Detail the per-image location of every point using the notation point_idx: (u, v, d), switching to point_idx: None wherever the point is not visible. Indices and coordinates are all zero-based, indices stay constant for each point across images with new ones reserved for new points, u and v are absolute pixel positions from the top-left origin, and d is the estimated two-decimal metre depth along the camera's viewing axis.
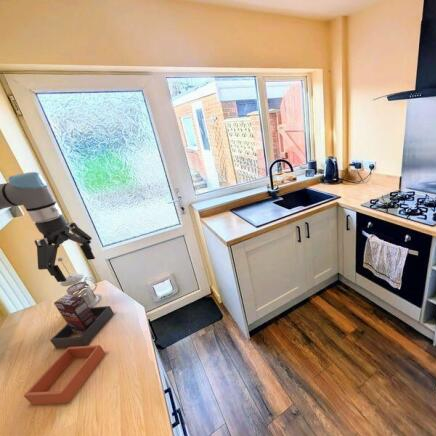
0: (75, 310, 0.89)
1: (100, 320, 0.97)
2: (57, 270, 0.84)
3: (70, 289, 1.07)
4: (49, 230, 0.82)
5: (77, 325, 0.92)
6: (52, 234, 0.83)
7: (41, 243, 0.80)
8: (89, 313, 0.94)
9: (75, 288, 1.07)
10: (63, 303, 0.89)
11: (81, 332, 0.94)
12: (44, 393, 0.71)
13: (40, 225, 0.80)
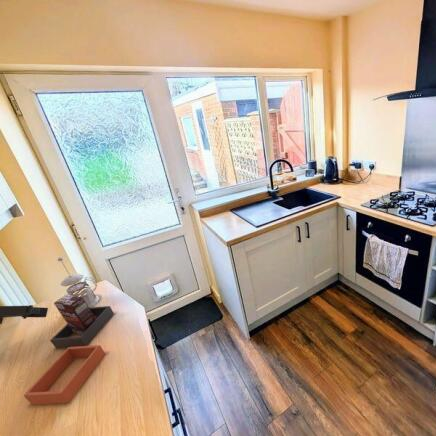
0: (75, 310, 0.89)
1: (100, 320, 0.97)
2: None
3: (70, 289, 1.07)
4: None
5: (77, 325, 0.92)
6: None
7: None
8: (89, 313, 0.94)
9: (75, 288, 1.07)
10: (63, 303, 0.89)
11: (81, 332, 0.94)
12: (44, 393, 0.71)
13: None
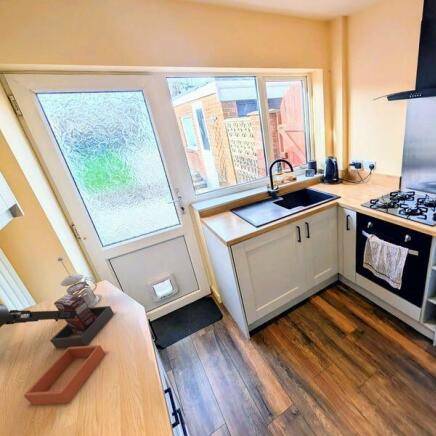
0: None
1: (100, 320, 0.97)
2: None
3: (70, 289, 1.07)
4: None
5: (77, 325, 0.92)
6: None
7: None
8: (89, 313, 0.94)
9: (75, 288, 1.07)
10: (63, 303, 0.89)
11: (81, 332, 0.94)
12: (44, 393, 0.71)
13: None
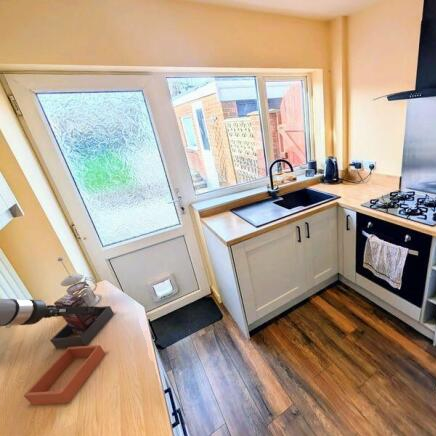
0: None
1: (100, 320, 0.97)
2: None
3: (70, 289, 1.07)
4: None
5: (77, 325, 0.92)
6: None
7: None
8: None
9: (75, 288, 1.07)
10: (63, 303, 0.89)
11: (81, 332, 0.94)
12: (44, 393, 0.71)
13: None
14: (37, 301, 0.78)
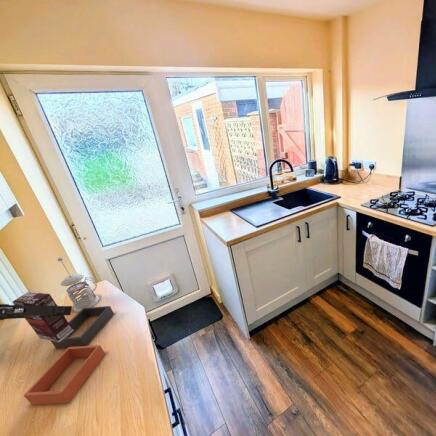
0: None
1: (100, 320, 0.97)
2: None
3: (70, 289, 1.07)
4: None
5: (43, 329, 0.74)
6: None
7: None
8: None
9: (75, 288, 1.07)
10: (24, 302, 0.71)
11: (49, 338, 0.76)
12: (44, 393, 0.71)
13: None
14: None
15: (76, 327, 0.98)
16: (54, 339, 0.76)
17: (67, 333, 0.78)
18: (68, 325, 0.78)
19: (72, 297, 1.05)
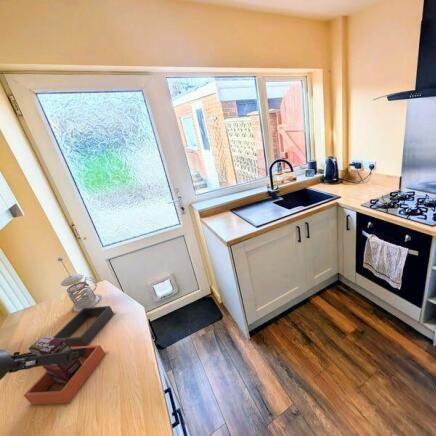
0: None
1: (100, 320, 0.97)
2: None
3: (70, 289, 1.07)
4: None
5: (58, 374, 0.75)
6: None
7: None
8: None
9: (75, 288, 1.07)
10: (40, 349, 0.71)
11: (64, 381, 0.77)
12: (44, 393, 0.71)
13: None
14: None
15: (76, 327, 0.98)
16: None
17: None
18: None
19: (72, 297, 1.05)
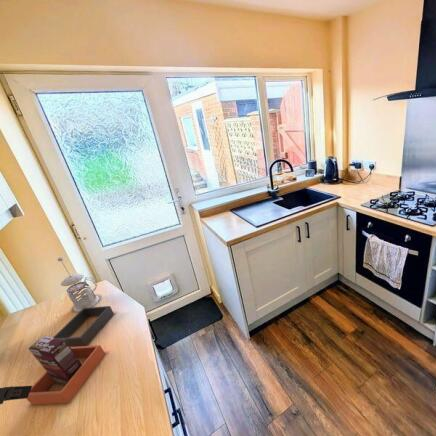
0: (54, 358, 0.71)
1: (100, 320, 0.97)
2: None
3: (70, 289, 1.07)
4: None
5: (58, 374, 0.75)
6: None
7: None
8: (73, 358, 0.76)
9: (75, 288, 1.07)
10: (40, 349, 0.71)
11: (64, 381, 0.77)
12: (44, 393, 0.71)
13: None
14: None
15: (76, 327, 0.98)
16: None
17: None
18: None
19: (72, 297, 1.05)
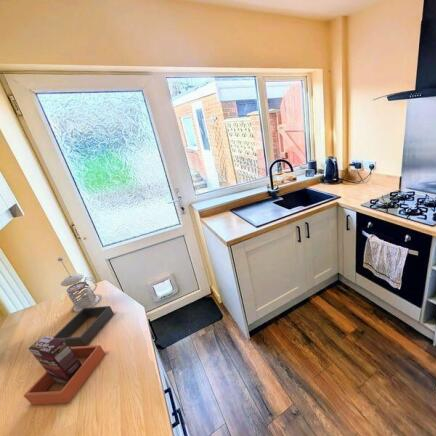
0: (54, 358, 0.71)
1: (100, 320, 0.97)
2: None
3: (70, 289, 1.07)
4: None
5: (58, 374, 0.75)
6: None
7: None
8: (73, 358, 0.76)
9: (75, 288, 1.07)
10: (40, 349, 0.71)
11: (64, 381, 0.77)
12: (44, 393, 0.71)
13: None
14: None
15: (76, 327, 0.98)
16: None
17: None
18: None
19: (72, 297, 1.05)
